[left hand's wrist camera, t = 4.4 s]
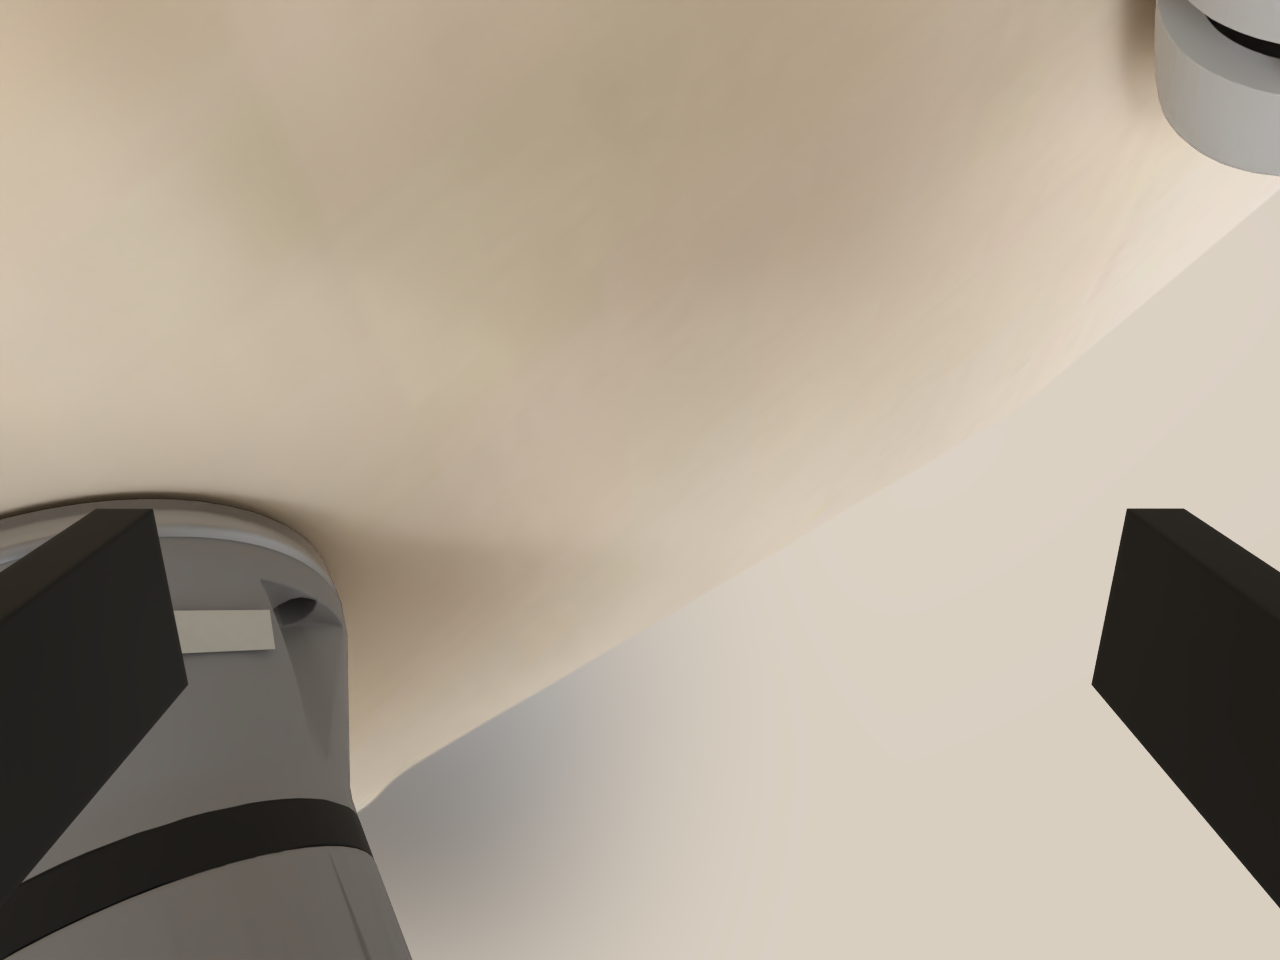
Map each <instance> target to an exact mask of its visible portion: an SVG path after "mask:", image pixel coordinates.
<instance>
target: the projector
mask: <svg viewBox="0 0 1280 960" xmlns="http://www.w3.org/2000/svg"><path fill="white" fill-rule="evenodd" d="M1154 56H1155V76H1156V84H1157V91H1158V97H1159V101H1160V104H1161V107H1162V111H1163V113H1164V115H1165V117H1166V119H1167V121H1168V123H1169V124H1170V126H1171V127H1172V128H1173V129H1174V130H1175V131H1176V133H1177V134H1178V135H1179V136H1180V137H1181V138H1182V139H1184V140H1185V141H1186V142H1187V143H1188V144H1189V145H1191V146H1192V147H1193V148H1195V149H1196V150H1197V151H1199V152H1200V153H1202V154H1203V155H1205V156H1207V157H1209V158H1211V159H1213V160H1215V161H1217V162H1219V163H1221V164H1224V165H1227V166H1230V167H1233V168H1237V169H1240V170H1244V171H1248V172H1252V173H1258V174H1266V175H1274V176H1280V0H1156V9H1155V34H1154Z"/></svg>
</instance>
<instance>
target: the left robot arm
mask: <svg viewBox="0 0 1280 960" xmlns="http://www.w3.org/2000/svg"><path fill="white" fill-rule="evenodd" d="M1092 686H1093V687H1094V688H1095V689H1096V690H1097V692H1098V693H1099V694H1100V695H1101V696H1102V698H1103V699H1104V700H1105V701H1106V702H1107V703H1108V705H1109V706H1110V707H1111V708H1112V709H1113V711H1114V712H1115V713H1116V714H1117V715H1118V717H1119V718H1120V719H1121V720H1122V721H1123V722H1124V724H1125V725H1126V726H1127V727H1128V728H1129V730H1130V731H1131V732H1132V733H1133V734H1134V736H1135V737H1136V738H1137V739H1138V740H1139V741H1140V743H1141V744H1142V745H1143V746H1144V747H1145V749H1146V750H1147V751H1148V752H1149V753H1150V755H1151V756H1152V757H1153V758H1154V759H1155V760H1156V762H1157V763H1158V764H1159V765H1160V766H1161V768H1162V769H1163V770H1164V771H1165V772H1166V774H1167V775H1168V776H1169V777H1170V778H1171V779H1172V781H1173V782H1174V783H1175V784H1176V785H1177V787H1178V788H1179V789H1180V790H1181V791H1182V793H1183V794H1184V795H1185V796H1186V797H1187V798H1188V800H1189V801H1190V802H1191V803H1192V804H1193V806H1194V807H1195V808H1196V809H1197V810H1198V812H1199V813H1200V814H1201V815H1202V816H1203V817H1204V819H1205V820H1206V821H1207V822H1208V823H1209V825H1210V826H1211V827H1212V828H1213V829H1214V830H1215V832H1216V833H1217V834H1218V835H1219V836H1220V838H1221V839H1222V840H1223V841H1224V842H1225V844H1226V845H1227V846H1228V847H1229V848H1230V850H1231V851H1232V852H1233V853H1234V854H1235V855H1236V857H1237V858H1238V859H1239V860H1240V861H1241V863H1242V864H1243V865H1244V866H1245V867H1246V869H1247V870H1248V871H1249V872H1250V873H1251V874H1252V876H1253V877H1254V878H1255V879H1256V880H1257V882H1258V883H1259V884H1260V885H1261V886H1262V887H1263V889H1264V890H1265V891H1266V892H1267V893H1268V895H1269V896H1270V897H1271V898H1272V899H1273V901H1274V902H1275V903H1276V904H1277V905H1278V907H1279V908H1280V572H1279V571H1277V570H1276V569H1274V568H1273V567H1271V566H1270V565H1268V564H1267V563H1265V562H1264V561H1262V560H1261V559H1259V558H1258V557H1256V556H1255V555H1253V554H1252V553H1250V552H1248V551H1247V550H1246V549H1244V548H1243V547H1241V546H1240V545H1238V544H1236V543H1235V542H1233V541H1232V540H1230V539H1229V538H1227V537H1226V536H1224V535H1223V534H1221V533H1220V532H1218V531H1217V530H1215V529H1214V528H1212V527H1211V526H1209V525H1208V524H1206V523H1205V522H1203V521H1202V520H1200V519H1199V518H1197V517H1196V516H1194V515H1193V514H1191V513H1190V512H1188V511H1187V510H1185V509H1127V511H1126V516H1125V521H1124V526H1123V531H1122V536H1121V541H1120V546H1119V551H1118V556H1117V561H1116V566H1115V571H1114V576H1113V581H1112V586H1111V591H1110V596H1109V601H1108V606H1107V611H1106V616H1105V621H1104V626H1103V631H1102V636H1101V640H1100V645H1099V650H1098V655H1097V660H1096V665H1095V670H1094V675H1093V680H1092ZM0 960H412V958H411V955H410V952H409V950H408V947H407V945H406V942H405V939H404V937H403V934H402V931H401V929H400V926H399V923H398V921H397V918H396V915H395V913H394V910H393V907H392V905H391V902H390V900H389V897H388V894H387V892H386V889H385V886H384V884H383V881H382V878H381V876H380V873H379V870H378V868H377V865H376V863H375V861H374V858H373V856H372V853H371V850H370V847H369V845H368V842H367V839H366V837H365V834H364V831H363V828H362V826H361V823H360V820H359V818H358V815H357V812H356V809H355V806H354V803H353V800H352V795H351V790H350V768H349V710H348V652H347V631H346V625H345V620H344V615H343V610H342V605H341V601H340V599H339V596H338V594H337V591H336V589H335V587H334V584H333V582H332V579H331V577H330V574H329V572H328V570H327V567H326V565H325V562H324V561H323V559H322V558H321V556H320V555H319V553H318V552H317V550H316V549H315V548H314V547H313V546H312V545H311V544H310V543H309V542H308V541H307V540H306V539H304V538H303V537H302V536H301V535H299V534H298V533H297V532H295V531H293V530H292V529H290V528H288V527H287V526H285V525H283V524H281V523H279V522H277V521H275V520H272V519H270V518H268V517H266V516H262V515H259V514H256V513H253V512H250V511H247V510H243V509H239V508H235V507H230V506H226V505H220V504H214V503H207V502H200V501H188V500H175V499H132V500H112V501H102V502H92V503H83V504H76V505H69V506H63V507H57V508H51V509H45V510H40V511H36V512H31V513H26V514H22V515H17V516H12V517H9V518H5V519H1V520H0Z"/></svg>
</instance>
